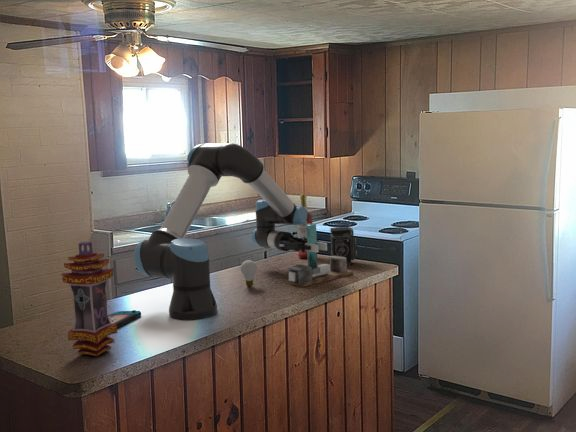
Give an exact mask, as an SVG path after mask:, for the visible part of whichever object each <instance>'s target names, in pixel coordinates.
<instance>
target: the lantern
mask: <svg viewBox="0 0 576 432" xmlns="http://www.w3.org/2000/svg"><path fill="white" fill-rule="evenodd" d="M82 247H83V249H82ZM88 247H89V250H88ZM104 257H105V253H97V252H93V242H92V241H81V242H78V253H77V254H76V255H74V256H68V257H67V258H68V260H69V261H72V262H63V267H64V268H65V269H68V270H71V272H64V273H61V278H62V283H65V284H68V285H69V287H70V290H71V292H72V301H73V310H74V311H73V312H74V323H73V328H72V329H70V330H69V331H68V333H67V342H69V341H74V340H76V341H75V342H74V343H73V344H72V349H73V350H78V351H77V355H86V356H93V357H99V356H100V355H101V354H102V353H105V352H107V351H109V350H111V349H112V346H110V345H109V344H114V343H115V339H114V338H113V337H111V336H109V335H116V334H118V328H117V325H116V324H112V323H111V322H110V320H109V317H108V315H109V313H108V294H107V289H106V288H107V282H108V279H110V278H112V277H113V275H114V268H104V269H103V267H105V266H107V265H108V264H109V263H110V259H109V258H104ZM102 258H104V259H102Z"/></svg>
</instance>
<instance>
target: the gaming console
mask: <svg viewBox="0 0 576 432" xmlns="http://www.w3.org/2000/svg"><path fill="white" fill-rule="evenodd" d="M141 316H142V312H141V310H135V309H133V310H119V311H114V312H112V313H110V314H109V313H108V317H109V320H110V322H111V323H112V324H116V325H117V329H118V328H119V327H122V326H123V325H126V324H127V323H129V322H131V321H134V320H135V319H139V318H141Z"/></svg>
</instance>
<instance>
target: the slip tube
mask: <svg viewBox="0 0 576 432" xmlns="http://www.w3.org/2000/svg"><path fill="white" fill-rule="evenodd" d="M306 227H307V243H310V244H316V245H317V240H318V239H317V224H315V223H312V224H308V225H306ZM307 254H308V258H307V266H310V267H312V277H316V276H320V275H324V274H328V273H330V265H329V264H328V263H322V264H318V252H312V251H307ZM288 280H289V281H294V282H296V281H298V271H290V272H289V275H288Z"/></svg>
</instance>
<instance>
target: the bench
mask: <svg viewBox="0 0 576 432" xmlns="http://www.w3.org/2000/svg"><path fill="white" fill-rule="evenodd" d="M328 257H329V258H328V260H329V262H328V263H329V265H330V273H328V274H324V275H320V276H316V277H312V267H310V266H308V265H305V264H296V265H292V266H288V267H287V272H288V276H289V272H290V271H298V281H296V282H294V281H289V279H286V284H290V285H294V286H298V287H301V288H303V287H307V286H311V285H315V284H319V283H323V282H327V281H330V280H335V279H338V278H343V277H347V276H349V275H353V274H354V273H353V272H354V271H353V270H348V264H347V258H346V257H340V256H331V255H330V256H328Z"/></svg>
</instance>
